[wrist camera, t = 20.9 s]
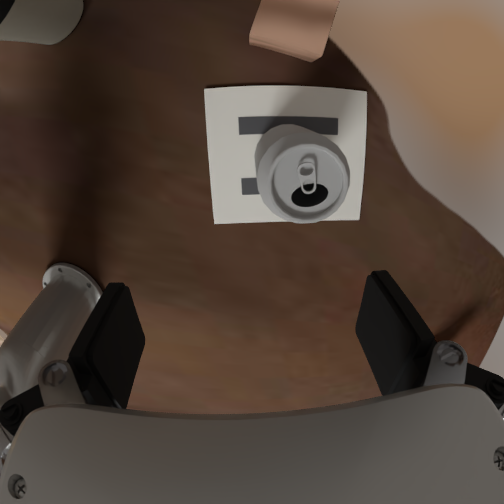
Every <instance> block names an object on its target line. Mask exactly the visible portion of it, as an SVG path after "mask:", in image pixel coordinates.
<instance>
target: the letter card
mask: <svg viewBox="0 0 504 504" xmlns="http://www.w3.org/2000/svg"><path fill="white" fill-rule="evenodd" d="M204 95H205V112H206V128H207V142H208V156H209V169H210V181H211V193H212V204H213V215H214V224H226V223H250V222H280V221H286V220H284V219H282V218H280V217H279V216H277V215H275V214H273V213H272V212H271V210H270V209H269V208H268V207H267V206H266V205H265V204H264V203H263V200H262V198H261V196H260V193H259V191H258V186H257V177H256V168H255V158H254V154H255V150H256V146H257V143H258V142H259V140H260V139H261V137H262V135H264V134H265V133H266V132H267V131H269V130H270V129H271V128H274V127H276V126H279V125H283V124H294V125H297V126H301V127H304V128H306V129H309V130H311V131H314V132H316V133H318V134H320V135H323V136H325V137H327V138H328V139H329V140H331V141H332V142H334V143H335V144H336V145H338V147H339V148H340V149H341V151H342V152H343V154H344V155H345V157H346V159H347V162H348V165H349V169H350V186H349V188H348V191H347V194H346V197H345V200H344V202H343V203H342V204H341V206H340V207H339V208H338V210H337V211H336V212H334V213H333V214H332V215H330V216H329V217H328V218H326V219H323V220H359V217H360V209H361V199H362V189H363V177H364V164H365V148H366V123H367V92H366V91H358V90H349V89H339V88H327V87H311V86H238V87H222V88H210V89H204Z"/></svg>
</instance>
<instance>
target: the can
mask: <svg viewBox="0 0 504 504" xmlns="http://www.w3.org/2000/svg"><path fill="white" fill-rule="evenodd" d="M254 158H255V168H256V177H257V186H258V191H259V193H260V196H261V198H262V200H263V203H264V204H265V205H266V206H267V207H268V208H269V209H270V210H271V212H272V213H273V214H275V215H277V216H279V217H280V218H282V219H284V220H286V221H291V222H295V223H315V222H318V221H321V220H323V219H326V218H328V217H329V216H330V215H332V214H333V213H334V212H336V211H337V210H338V208H339V207H340V206H341V204H342V203H343V202H344V200H345V197H346V194H347V191H348V188H349V186H350V169H349V165H348V162H347V159H346V157H345V155H344V154H343V152H342V151H341V149H340V148H339V147H338V145H336V144H335V143H334V142H332V141H331V140H329V139H328V138H327V137H325V136H323V135H320V134H318V133H316V132H314V131H311V130H309V129H306V128H304V127H301V126H297V125H294V124H283V125H279V126H276V127H274V128H271V129H270V130H269V131H267V132H266V133H265V134H264V135H262V137H261V139H260V140H259V142H258V143H257V146H256V150H255V154H254Z"/></svg>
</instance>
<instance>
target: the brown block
mask: <svg viewBox="0 0 504 504" xmlns="http://www.w3.org/2000/svg"><path fill="white" fill-rule="evenodd" d="M338 4H339V1H338V0H261V3H260V6H259V9H258V11H257V14H256V17H255V20H254V23H253V25H252V28H251V31H250V35H249V44H250V45H255V46H259V47H262V48H266V49H270V50H273V51H277V52H280V53H284V54H287V55H290V56H293V57H297V58H300V59H303V60H306V61H308V62H311V63H312V62H313V61H315V60H316V59H318V58H320V57H321V56H322V55H323V52H324V49H325V45H326V42H327V39H328V36H329V33H330V30H331V27H332V23H333V20H334V17H335V14H336V11H337V8H338Z"/></svg>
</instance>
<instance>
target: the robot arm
mask: <svg viewBox="0 0 504 504" xmlns="http://www.w3.org/2000/svg"><path fill="white" fill-rule="evenodd" d="M356 334H357V337H358V339H359V341H360V344H361V346H362V348H363V350H364V353H365V355H366V357H367V360H368V362H369V364H370V367H371V369H372V372H373V374H374V376H375V379H376V381H377V384H378V386H379V389H380V391H381V394H382V395H383V396H380V397H375V398H370V399H365V400H360V401H355V402H350V403H344V404H338V405H332V406H325V407H318V408H310V409H301V410H292V411H282V412H269V413H252V414H180V413H163V412H151V411H140V410H130V409H126V407H127V404H128V400H129V396H130V393H131V389H132V386H133V382H134V379H135V375H136V372H137V368H138V365H139V362H140V358H141V355H142V352H143V349H144V345H145V336H144V333H143V330H142V327H141V324H140V321H139V318H138V315H137V312H136V309H135V306H134V303H133V299H132V296H131V293H130V290H129V287H128V286H125V285H124V283H109V284H108V285H107V287H106V289H105V290H104V292H102V290H101V288H100V287H99V285H98V284H97V283H96V281H95V280H94V279H93V278H92V277H91V276H90V275H89V274H87V273H86V272H85V271H84V270H82V269H80V268H79V267H77V266H74V265H72V264H68V263H56V264H54V265H52V266H51V267H50V268H49V269H48V270H47V271H46V272H45V274H44V277H43V290H42V291H41V292H40V294H39V295H38V296H37V297H36V299H35V300H34V301H33V303H32V304H31V305H30V306H29V308H28V309H27V310H26V312H25V313H24V314H23V316H22V317H21V318H20V320H19V321H18V322H17V324H16V325H15V326H14V328H13V329H12V331H11V332H10V334H9V335H8V336H7V338H6V339H5V340H4V342H3V344H2V345H1V347H0V504H504V379H503V378H502V377H501V376H499V375H496V374H494V373H492V372H489V371H486V370H484V369H482V368H479V367H477V366H474V365H472V364H469V363H467V354H466V352H465V350H464V349H463V348H462V347H461V346H460V345H459V344H457V343H455V342H453V341H448V340H447V341H441V342H438V343H436V341H435V340H434V338H435V337H434V335H433V334H432V332H431V331H430V329H429V328H428V326H427V325H426V323H425V322H424V320H423V319H422V318H421V316H420V315H419V313H418V312H417V310H416V309H415V308H414V306H413V305H412V303H411V302H410V301H409V299H408V298H407V297H406V295H405V294H404V293H403V291H402V290H401V289H400V287H399V286H398V285H397V283H396V282H395V281H394V279H393V278H392V277H391V275H390V274H389V273H388V272H387V271H386V270H381V271H373V272H372V273H371V275H368V276H367V280H366V284H365V289H364V293H363V298H362V302H361V307H360V311H359V315H358V319H357V323H356Z"/></svg>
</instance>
